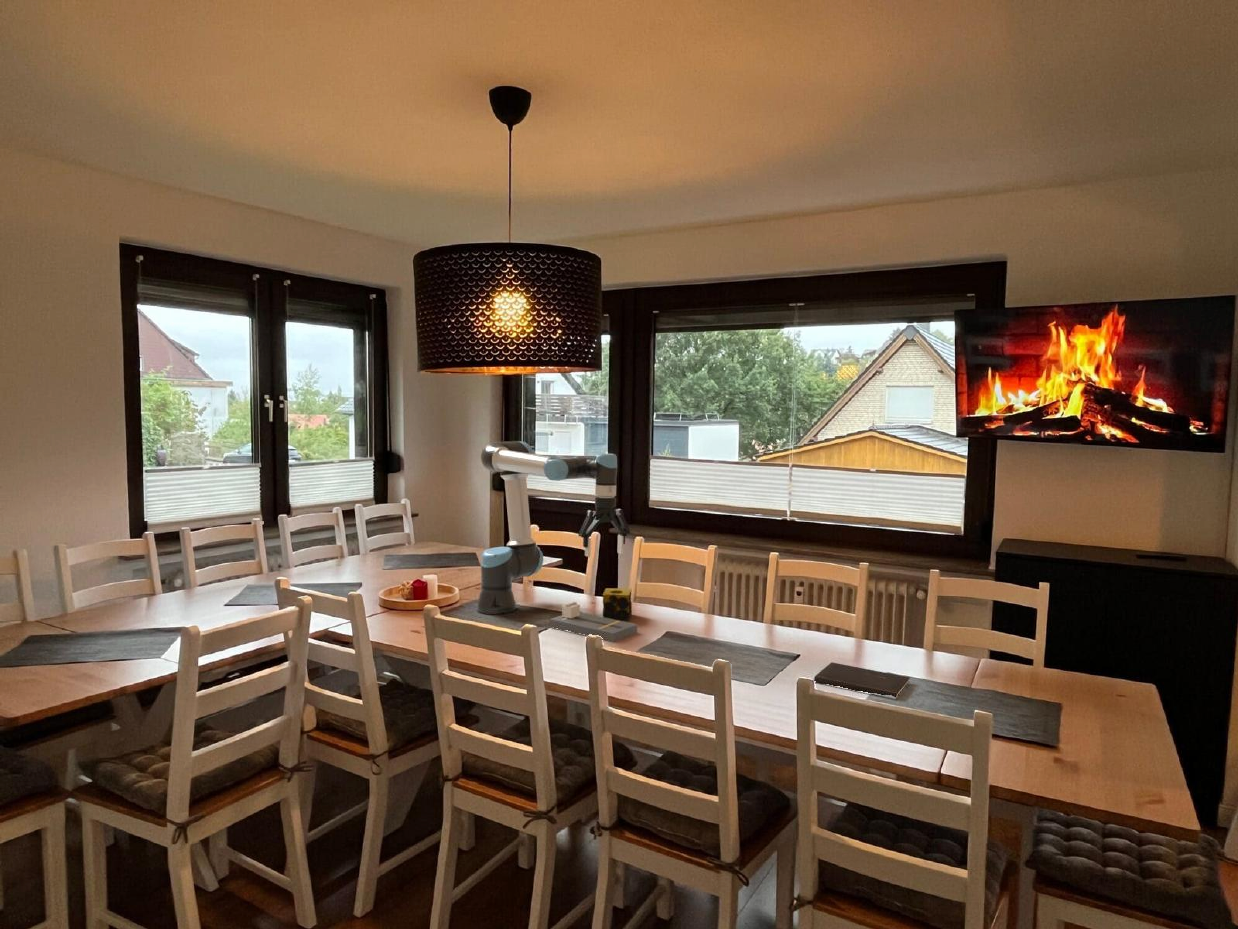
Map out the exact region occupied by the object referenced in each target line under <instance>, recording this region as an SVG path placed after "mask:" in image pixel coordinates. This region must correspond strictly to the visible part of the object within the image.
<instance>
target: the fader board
mask: <svg viewBox="0 0 1238 929" xmlns="http://www.w3.org/2000/svg"><path fill="white" fill-rule="evenodd" d="M550 627H554V628H558V629H561V630H560V631H563V630H568V631H571V632H574V633H573V634H576V633H581V634H585V637H587V636H586V635H589V634H592V635H599V636H601V637H602V638H603V639H604V640H603V641H606V642H607V641H608V642H611V643H616V642H619V641H621V640H623V639H625V638H627V637H630V636H633V635H635V634H638V624H637V623H632V622H629V621H619V620H614V619H610V618H605V617H603V616H599V615H595V614H590V613H586V612H585V613H584V612H581V611H580V616H577V617H574V618H566V617H562V614H561V615H558V616H555V617H552V618H550V619H549V628H550ZM554 628H553V629H554ZM558 629H557V630H558ZM571 632H570V633H571Z"/></svg>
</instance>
